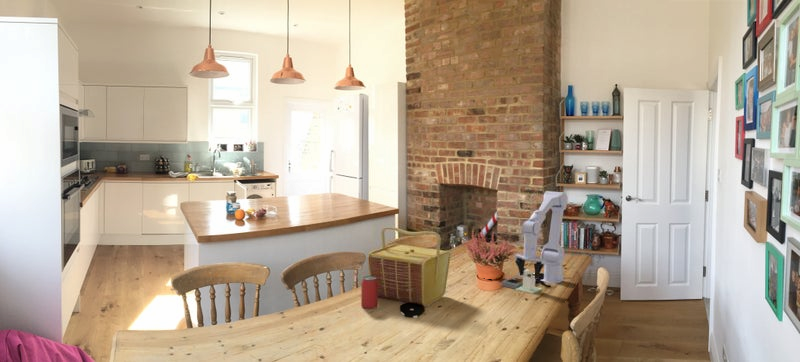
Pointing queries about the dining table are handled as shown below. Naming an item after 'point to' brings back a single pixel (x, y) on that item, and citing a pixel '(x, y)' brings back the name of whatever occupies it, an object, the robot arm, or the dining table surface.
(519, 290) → the tray
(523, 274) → the pull-out knob drawer
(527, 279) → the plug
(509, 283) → the small drawer cabinet
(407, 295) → the picnic basket
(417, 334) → the dining table surface
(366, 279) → the beer can
